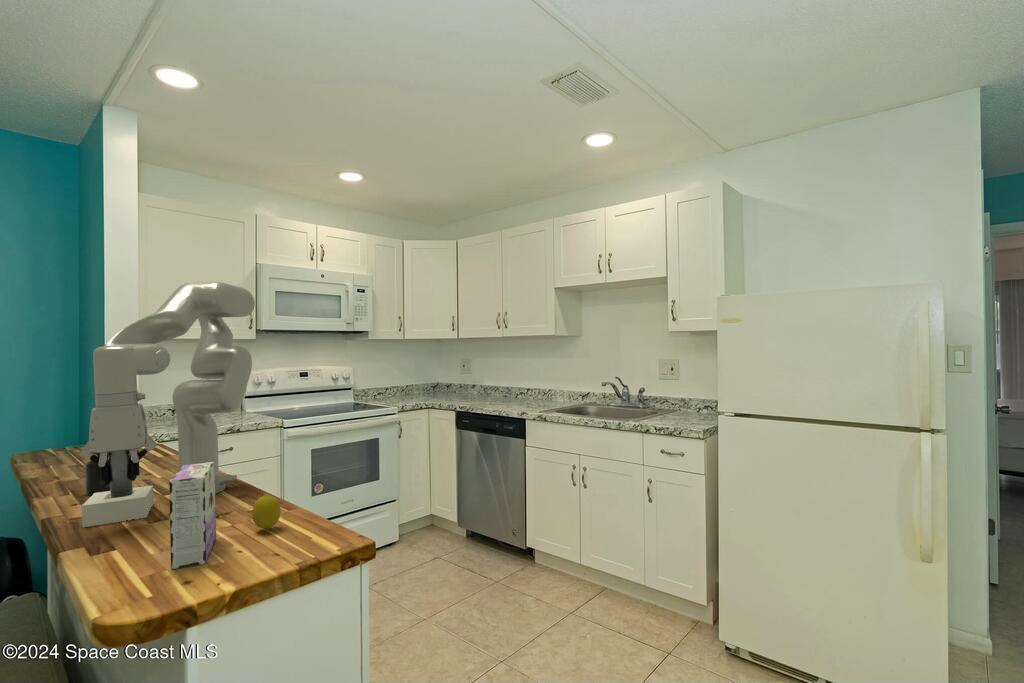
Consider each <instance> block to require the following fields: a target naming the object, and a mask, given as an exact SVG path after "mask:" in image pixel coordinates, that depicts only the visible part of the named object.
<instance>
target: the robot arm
mask: <svg viewBox="0 0 1024 683" xmlns="http://www.w3.org/2000/svg"><path fill="white" fill-rule="evenodd" d="M255 303H256V302H255V298H254V295H253V294H252V292H250V290H248V289H246V288H243V287H240V286H236V285H232V284H229V283H226V282H221V281H220V282H219V281H204V282H203V281H201V282H199V281H197V282H196V281H195V282H188V283H187V282H186V283H184V284H181V285H179V286H178V287H177V288H176V289H175V290H174V291H173V293H171V295H170V296H168V298H167V300H165V301H164V303H162V304H161V305H160V307H159V308H157V310H156V311H155V312H153V313H151V314H149V315H146V316H145V317H143V318H141V319H138V320H137V321H135V322H132V323H131V324H128V325H127V326H125V327H123V328H122V329H120V330H118V331H116V333H115V334H113V336H112V337H110V339H109V340H108V341H107V342H106V344H104V345H103V346H99V347H96V348H94V350H93V353H92V362H93V364H92V365H93V379H94V384H93V385H94V398H95V399H94V400H95V407H93V408H92V409H91V412H90V418H89V419H90V420H89V428H88V429H89V432H88V441H87V442H86V444H85V445H84V446H83V448H82V449H81V451H80V453H78V454H79V456H80V457H82V458H85V459H87V460H89V461H93V462H95V463H96V464H98V465H99V467H101V479H102V480H105V484H109V483H110V475H109V461H108V458H109V456H108V452H112V451H116V450H129V451H130V455H131V463H130V479H131V480H132V482H133V481H134V482H135V481H136V479H137V477H138V476H140V473H141V472H140V460H141V459H143V458H144V457H145V455H146V454H148V453H149V452H151V451H152V450H154V449H156V448H157V446H158V444H157V442H156V441H154V439H153V438H152V437H151V436H150V435H149V434H148V427H147V425H148V424H147V417H146V414H145V409H144V406H143V404H142V403H139V402H140V401H141V400H145V399H146V393H141V392H139V390H138V382H137V376H150V375H151V376H152V375H156V374H160V373H162V372H164V371H165V370H167V368H168V367H169V365H170V363H171V354H170V353H169V351H168V350H167V348H165V347H164V346H163V345H160V344H159V343H163V342H167V341H170V340H174V339H177V338H179V337H182V336H183V335H185V334H186V333H187V332H188V331H189V330H190V328H191V327H192V326H193V324H195V322H196V321H197V320H198V323H199V326H200V330H201V332H200V336H199V339H198V343H197V345H196V347H195V351H194V353H193V357H192V359H191V363H190V372H191V373H192V374H191V375H193V376H194V377H195V378H198V379H191V380H187V381H184V382H181V383H180V384H178V385H176V387H175V388H174V389H173V392H172V404H173V408H174V412H175V416H176V417H175V418H176V422H177V444H178V445H177V447H178V448H177V449H178V450H177V451H178V453H177V454H178V471H179V470H180V469H181V468H182V466H183V465H190V464H199V463H208V462H214V475H215V495H216V494H218V493H221V492H223V491H225V490H226V483H236V482H237V481H238V479H237V478H238V475H237V474H227V475H223V474H221V471H219V470H220V469H219V468H220V467H219V464H220V463H219V433H218V432H219V431H218V426H217V423H216V421H215V419H214V418H213V417H212V415H211V414H231V413H233V412H236V411H237V410H238V409H239V408H240V407H241V406H242V403H243V401H244V397H245V396H246V395H245V394H246V391H247V387H248V385H249V384H248V383H249V380H250V376H251V373H252V367H253V361H252V355H251V353H250V351H249V350H248V349H247V348H245V347H242V346H237V345H235V346H234V345H233V346H232V344H233V339H234V334H233V332H232V330H231V329H230V327H229V325H227V323H226V322H225V320H224V318H242V317H243V318H244V317H248V316H250V315H251V314H252V313H253V312H254V311H255V310H254V309H255V305H256V304H255ZM146 444H147V446H145V445H146ZM141 448H142V449H141ZM139 449H140V450H139ZM92 452H93V453H92ZM94 453H100V456H99V455H98V454H94Z"/></svg>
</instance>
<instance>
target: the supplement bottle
mask: <svg viewBox="0 0 1024 683" xmlns="http://www.w3.org/2000/svg"><path fill="white" fill-rule="evenodd" d="M92 453H93V452H92ZM94 454H98V455H99V456H100V453H94ZM108 461H109V458H108ZM84 468H85V472H84V473H85V494H86V495H87V496H89V495H93V494H94V493H98V492H106V491H110V483H109V484H105V480H102V479H101V467H99V465H98V464H96V463H95V462H93V461H91V460H89V461H88V462H87V463H86V464H85V466H84Z"/></svg>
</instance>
